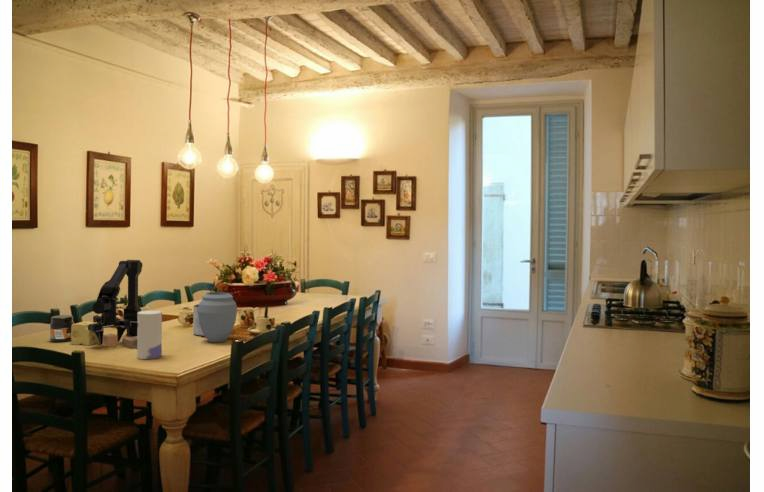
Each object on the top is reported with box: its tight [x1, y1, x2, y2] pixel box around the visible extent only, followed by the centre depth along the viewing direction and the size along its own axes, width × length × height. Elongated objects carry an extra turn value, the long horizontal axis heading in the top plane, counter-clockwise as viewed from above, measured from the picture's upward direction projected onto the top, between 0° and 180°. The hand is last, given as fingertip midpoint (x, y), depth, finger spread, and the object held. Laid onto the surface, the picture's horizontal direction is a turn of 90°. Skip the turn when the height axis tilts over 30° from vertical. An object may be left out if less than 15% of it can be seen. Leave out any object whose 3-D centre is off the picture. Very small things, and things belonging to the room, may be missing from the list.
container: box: [136, 310, 163, 360], centre depth 252 cm, size 10×10×20 cm
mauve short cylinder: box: [121, 336, 137, 350], centre depth 273 cm, size 8×8×4 cm
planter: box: [192, 303, 205, 337], centre depth 306 cm, size 16×16×16 cm
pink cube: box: [101, 333, 118, 348], centre depth 274 cm, size 5×5×5 cm
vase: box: [197, 291, 238, 343], centre depth 288 cm, size 20×20×24 cm
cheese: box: [70, 320, 105, 346], centre depth 278 cm, size 10×11×10 cm
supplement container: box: [49, 314, 75, 343], centre depth 282 cm, size 10×10×12 cm
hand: (109, 342), depth 274 cm, fingers open, 8 cm apart
